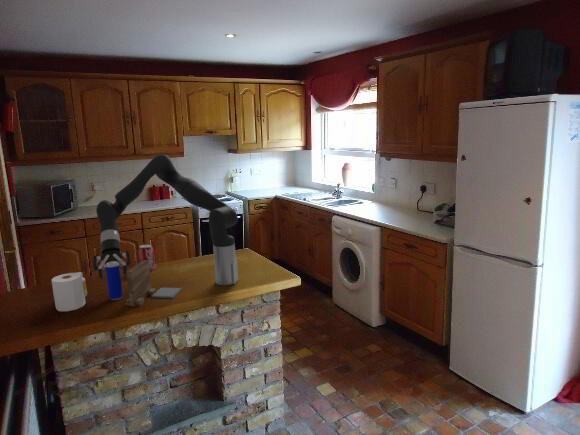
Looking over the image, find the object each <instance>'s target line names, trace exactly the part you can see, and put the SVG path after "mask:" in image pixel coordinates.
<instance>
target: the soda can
mask: <svg viewBox="0 0 580 435" xmlns="http://www.w3.org/2000/svg"><path fill="white" fill-rule="evenodd" d="M138 259H139V263H141V262H142V261H144V260H149V268H150V272H151V271H153V270H154V269H155V268H156V258H155V250H154V246H153V245H152V244H150V243H148V244H141V245H139V248H138Z"/></svg>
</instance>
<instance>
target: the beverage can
mask: <svg viewBox="0 0 580 435" xmlns="http://www.w3.org/2000/svg"><path fill="white" fill-rule="evenodd" d="M120 266H121V265H119V263H118V261H112V262H108V263H106V267H105V273H106V281H107V287H108V288H107V289H108V295H109V299H110V300H112V301H118V300H121V299H122V298H123V297H124V292H123V284H122V275H121V267H120Z"/></svg>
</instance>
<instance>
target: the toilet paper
mask: <svg viewBox="0 0 580 435" xmlns="http://www.w3.org/2000/svg"><path fill="white" fill-rule="evenodd" d="M82 275H83V274H82ZM82 275H81V274H79V273H77V272H68V273H64V274H60V275H57V276H56V275H55V276H54V277H53V278H52V279H50V280H51V285H52V286H51V287H52V293H53V299H54V303H55V309H56V310H57V311H58V312H70V311H75V310H78V309H81V308H83V307H84V306H85V304H86V302H87V301H86V298H85V297H86V296H85V295H84V288H83V281H82V277H83V276H82Z"/></svg>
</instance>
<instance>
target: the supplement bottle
mask: <svg viewBox="0 0 580 435" xmlns="http://www.w3.org/2000/svg"><path fill="white" fill-rule="evenodd" d="M76 273H79V274H81V275H82V281H83V288H84V295H85V297H86V296H87V295H88V290H87V283H86V279H85V277H83V272H81V271H80V272H79V271H78V272H76Z"/></svg>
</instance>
